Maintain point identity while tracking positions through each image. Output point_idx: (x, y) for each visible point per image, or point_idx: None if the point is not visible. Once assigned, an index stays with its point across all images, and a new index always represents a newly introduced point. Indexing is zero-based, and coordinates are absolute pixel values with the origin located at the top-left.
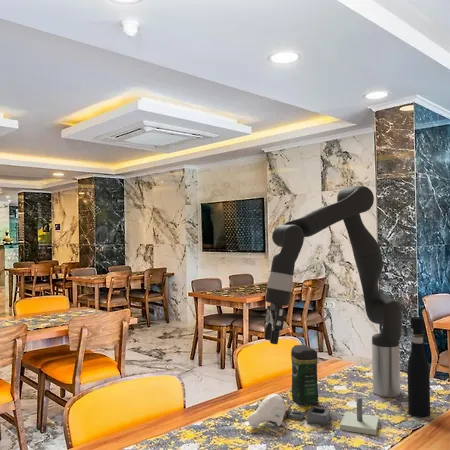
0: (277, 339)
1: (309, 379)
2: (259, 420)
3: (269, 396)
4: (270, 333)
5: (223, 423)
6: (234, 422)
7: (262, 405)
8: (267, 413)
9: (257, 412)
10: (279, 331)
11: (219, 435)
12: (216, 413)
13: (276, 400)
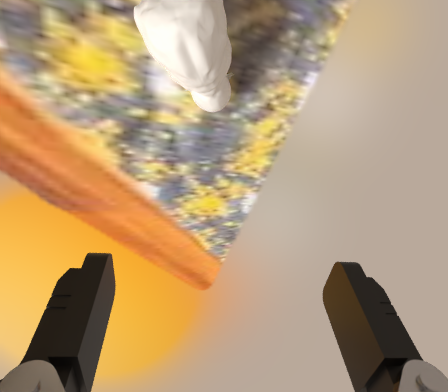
0: (389, 300)
1: None
2: (228, 81)
3: (191, 66)
4: (95, 313)
5: (160, 145)
6: (158, 120)
7: (209, 86)
8: (229, 63)
9: (216, 94)
10: (420, 366)
11: (227, 159)
12: (89, 152)
13: (217, 38)
